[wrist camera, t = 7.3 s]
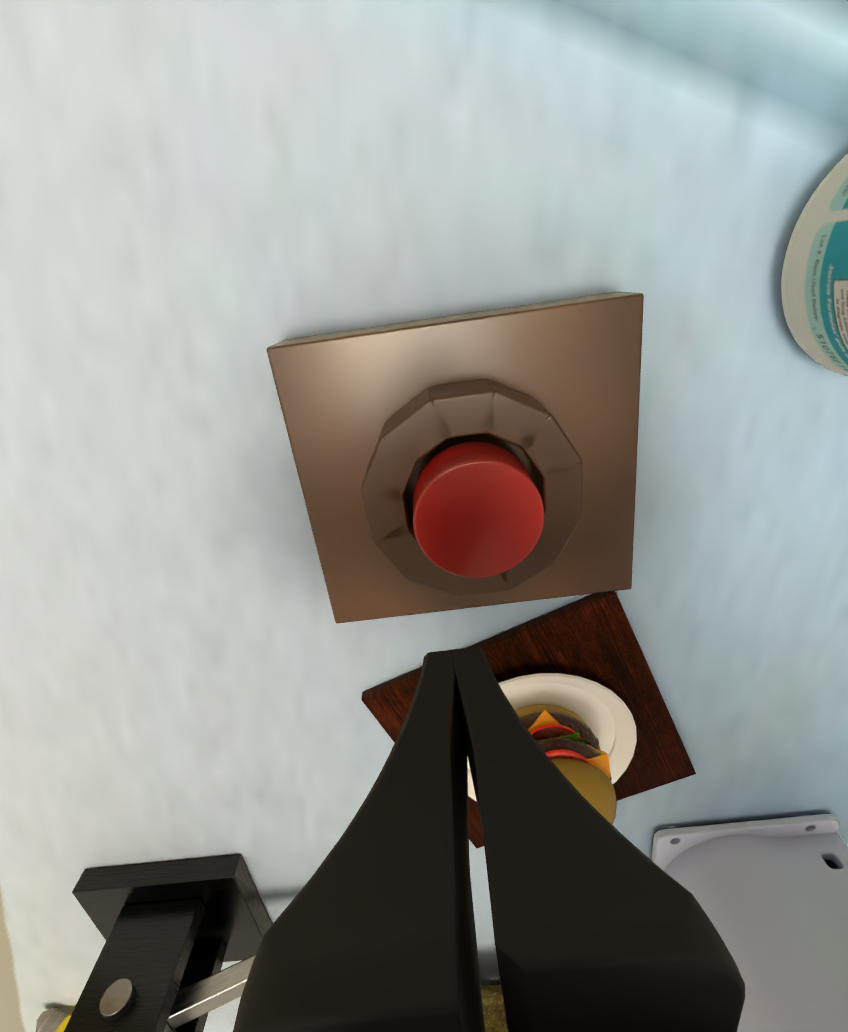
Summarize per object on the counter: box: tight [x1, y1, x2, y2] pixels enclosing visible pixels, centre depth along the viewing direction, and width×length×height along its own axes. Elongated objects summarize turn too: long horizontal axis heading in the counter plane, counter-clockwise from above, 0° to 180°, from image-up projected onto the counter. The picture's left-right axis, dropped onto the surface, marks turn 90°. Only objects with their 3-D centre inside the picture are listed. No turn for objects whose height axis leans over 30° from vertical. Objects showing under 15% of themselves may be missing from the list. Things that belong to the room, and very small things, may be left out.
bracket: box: [64, 855, 272, 1032], centre depth 27 cm, size 9×8×7 cm
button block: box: [267, 292, 644, 623], centre depth 17 cm, size 11×10×4 cm
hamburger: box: [362, 591, 696, 848], centre depth 22 cm, size 12×12×6 cm
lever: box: [164, 954, 256, 1032], centre depth 26 cm, size 13×3×3 cm, turn 98°
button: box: [413, 442, 544, 578], centre depth 15 cm, size 4×4×2 cm
